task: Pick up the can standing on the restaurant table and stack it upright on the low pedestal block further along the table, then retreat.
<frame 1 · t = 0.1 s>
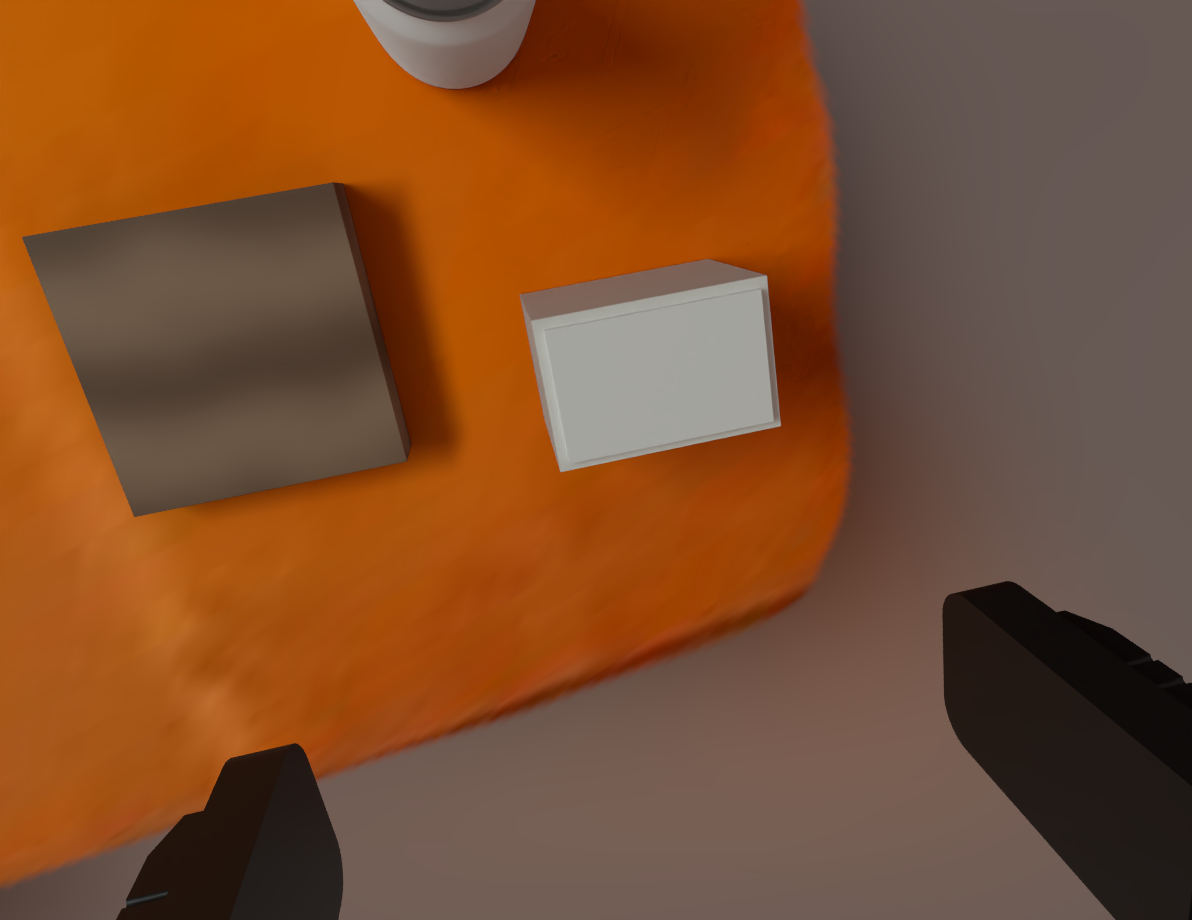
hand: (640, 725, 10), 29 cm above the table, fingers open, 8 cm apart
white box: (624, 339, 38), on the table
can: (449, 5, 33), on the table
base: (245, 346, 35), on the table
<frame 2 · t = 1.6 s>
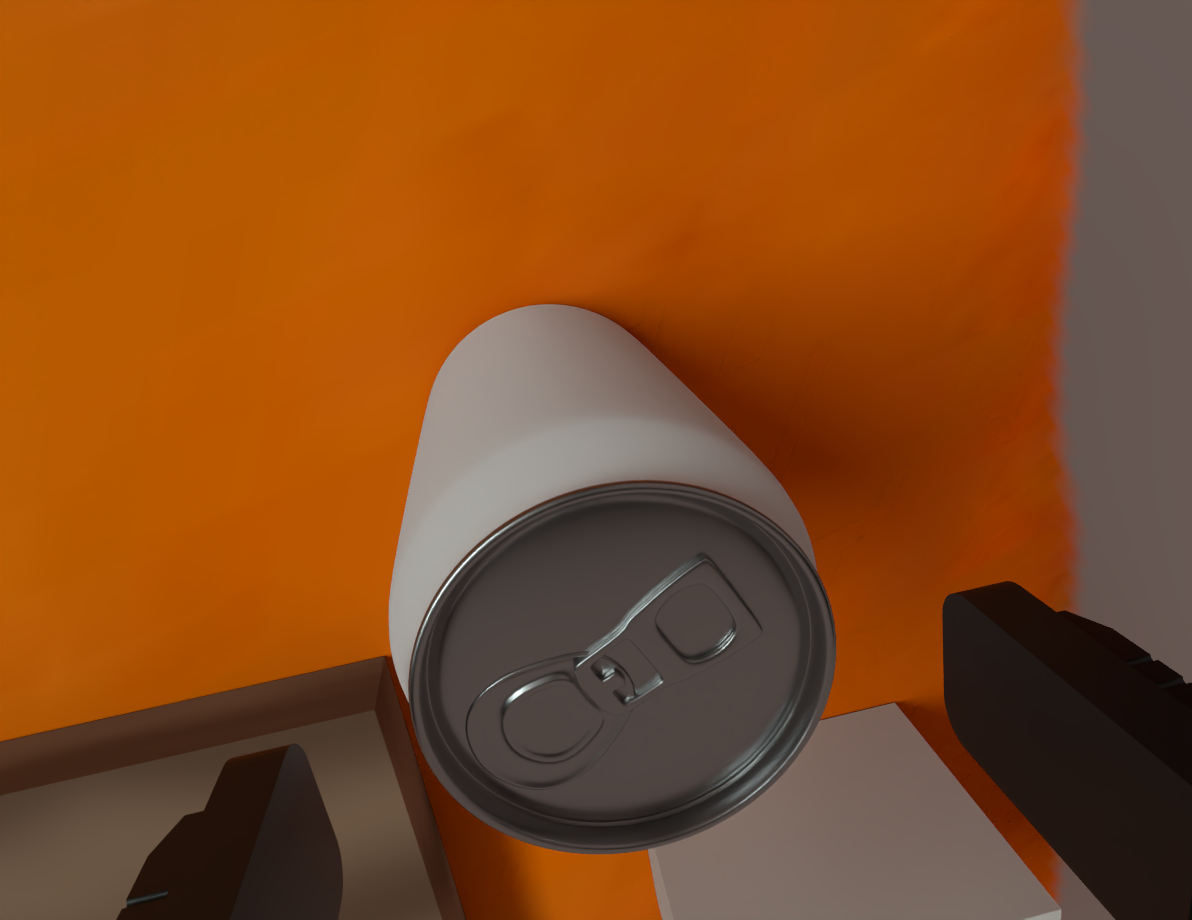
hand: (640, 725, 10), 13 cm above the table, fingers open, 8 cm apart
white box: (773, 803, 27), on the table
can: (547, 419, 22), on the table
base: (242, 859, 25), on the table
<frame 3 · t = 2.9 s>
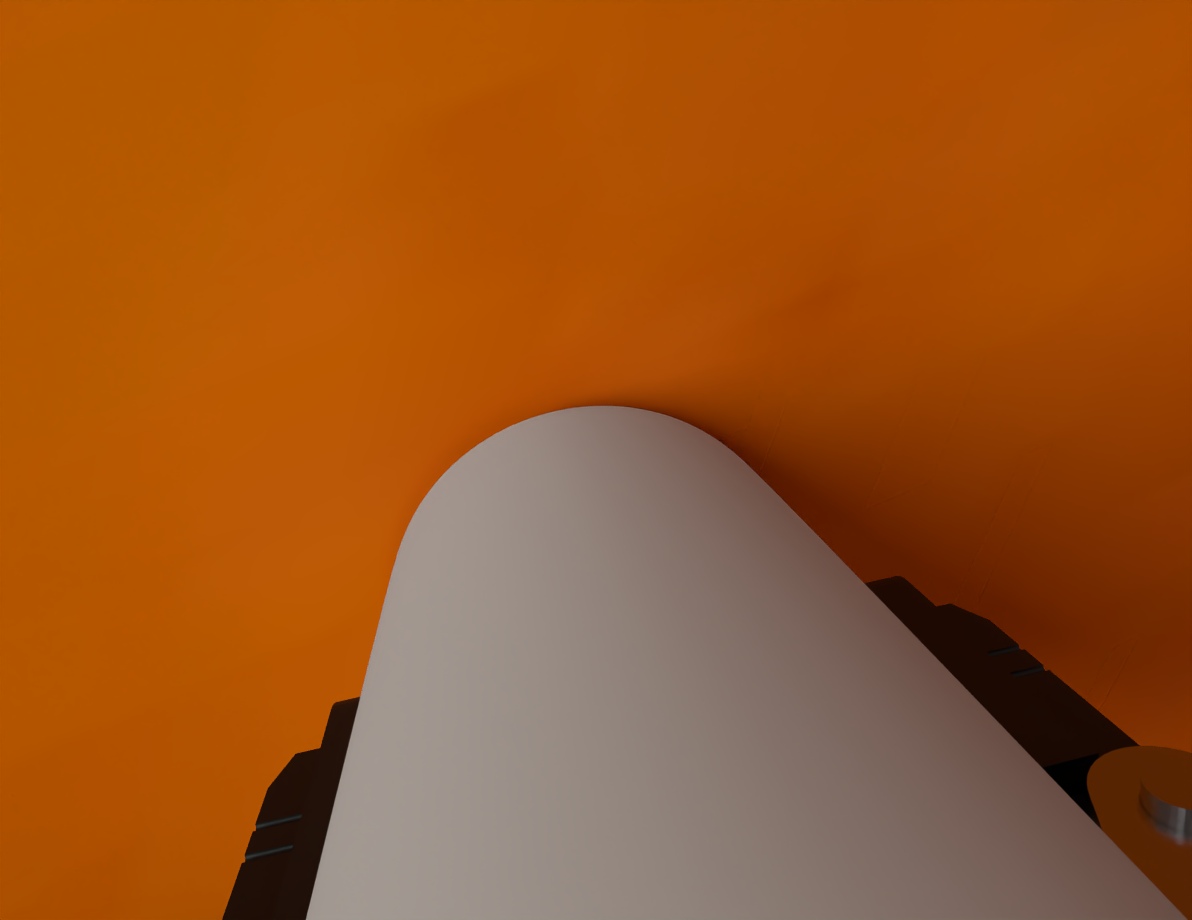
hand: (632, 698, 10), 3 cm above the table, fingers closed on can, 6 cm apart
can: (591, 580, 13), on the table, touching gripper
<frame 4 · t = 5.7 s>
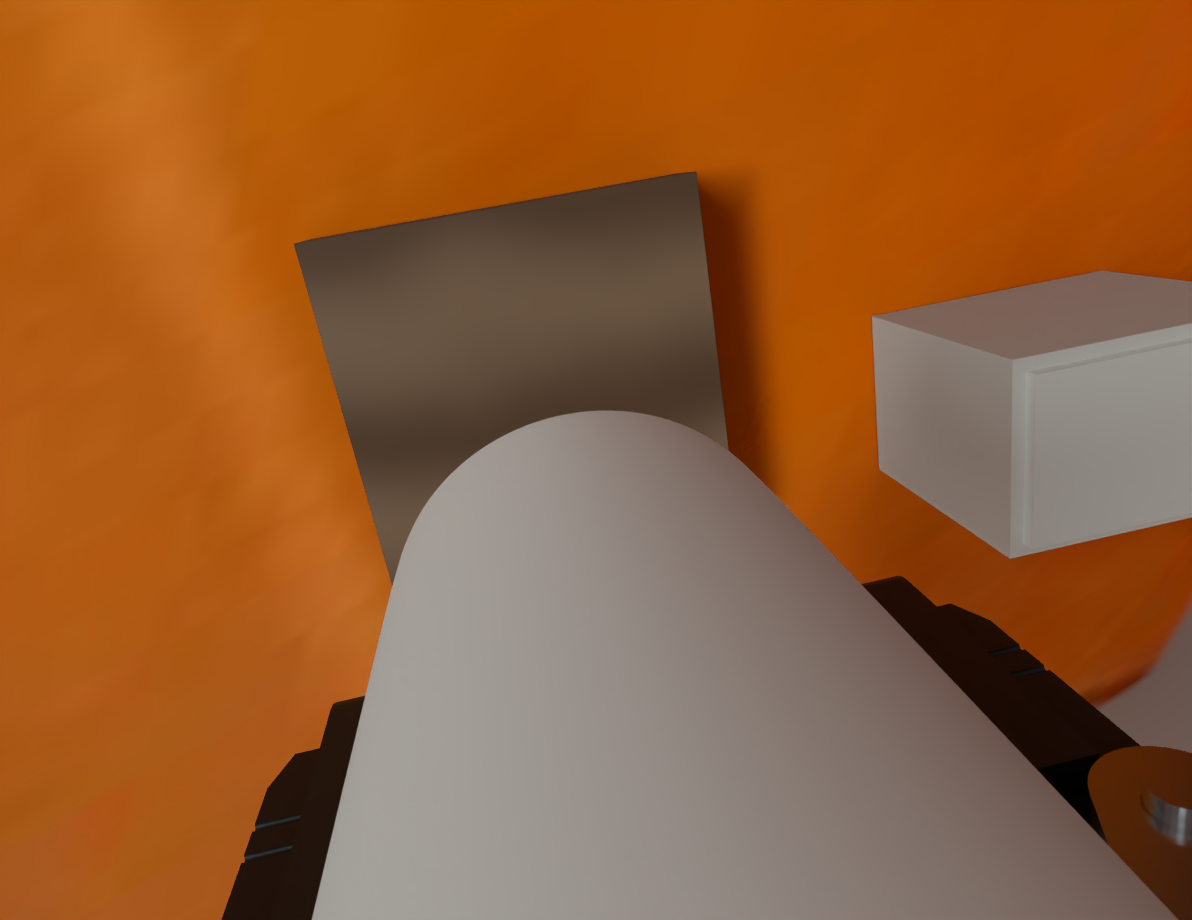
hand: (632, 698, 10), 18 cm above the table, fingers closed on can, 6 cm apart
white box: (988, 372, 30), on the table
can: (593, 584, 13), point 15 cm above the table, touching gripper
base: (532, 383, 28), on the table
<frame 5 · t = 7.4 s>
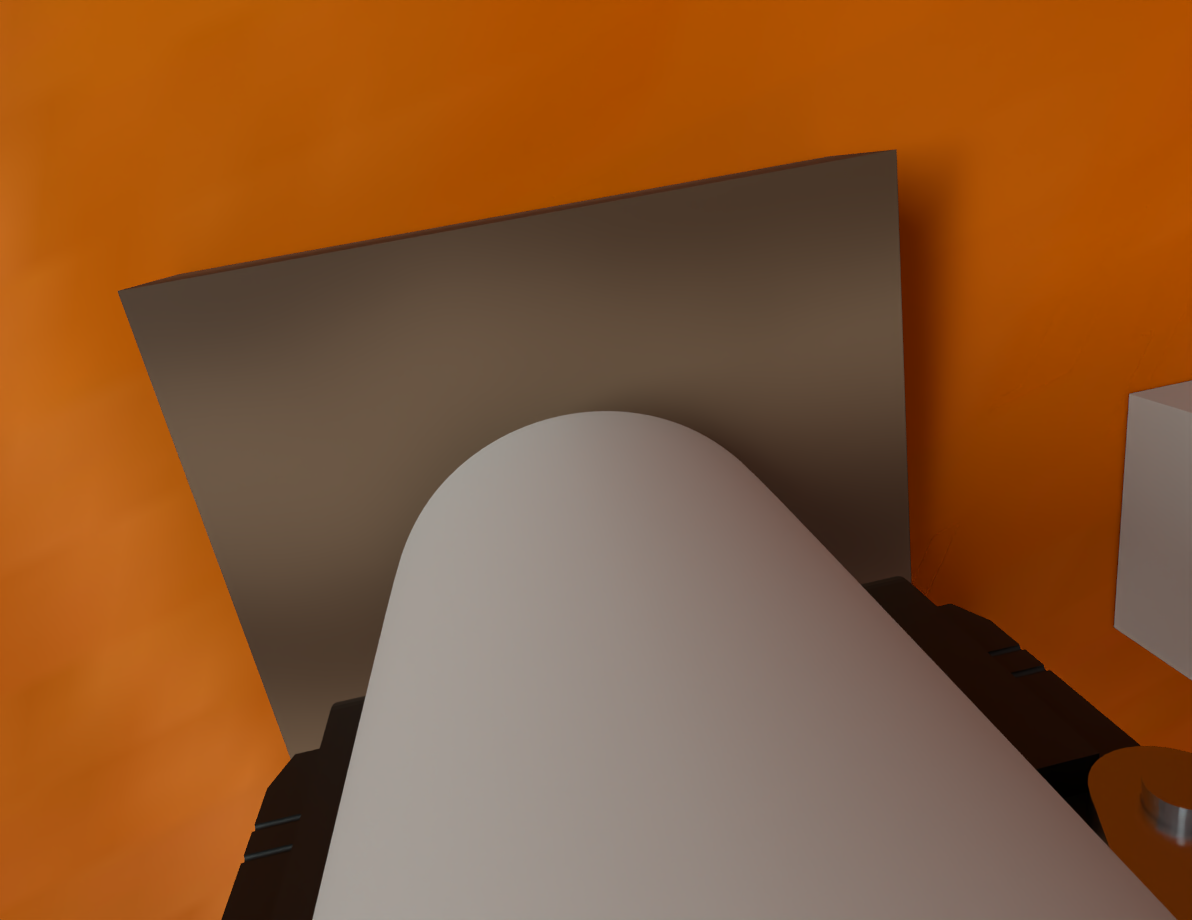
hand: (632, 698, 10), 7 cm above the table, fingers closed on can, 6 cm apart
can: (593, 584, 13), point 3 cm above the table, touching gripper
base: (572, 512, 16), on the table
when the fingers open (6 cm above the table, at t = 8.6 s): can stays where it is, resting on base.
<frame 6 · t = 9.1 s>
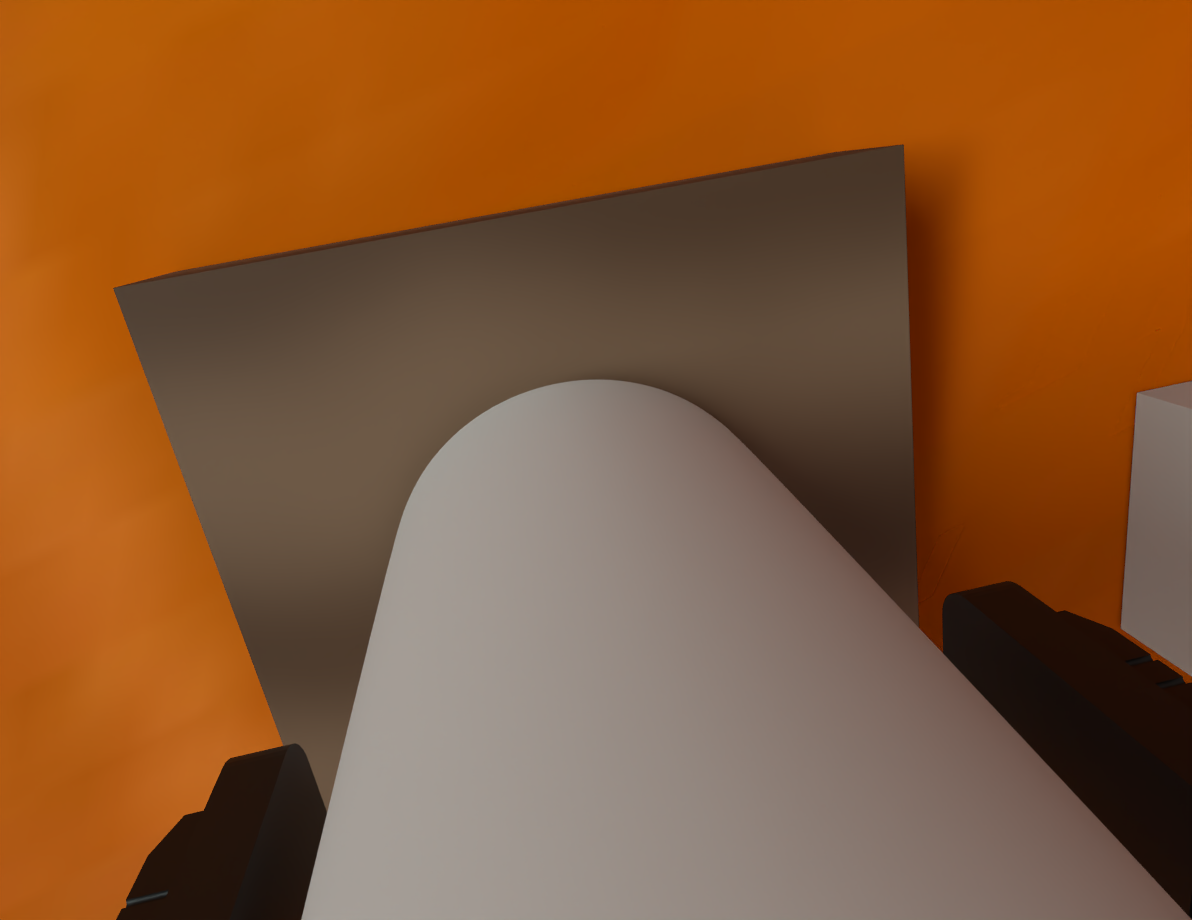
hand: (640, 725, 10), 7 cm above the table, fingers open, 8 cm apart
can: (586, 548, 14), point 2 cm above the table, touching base
base: (574, 512, 16), on the table
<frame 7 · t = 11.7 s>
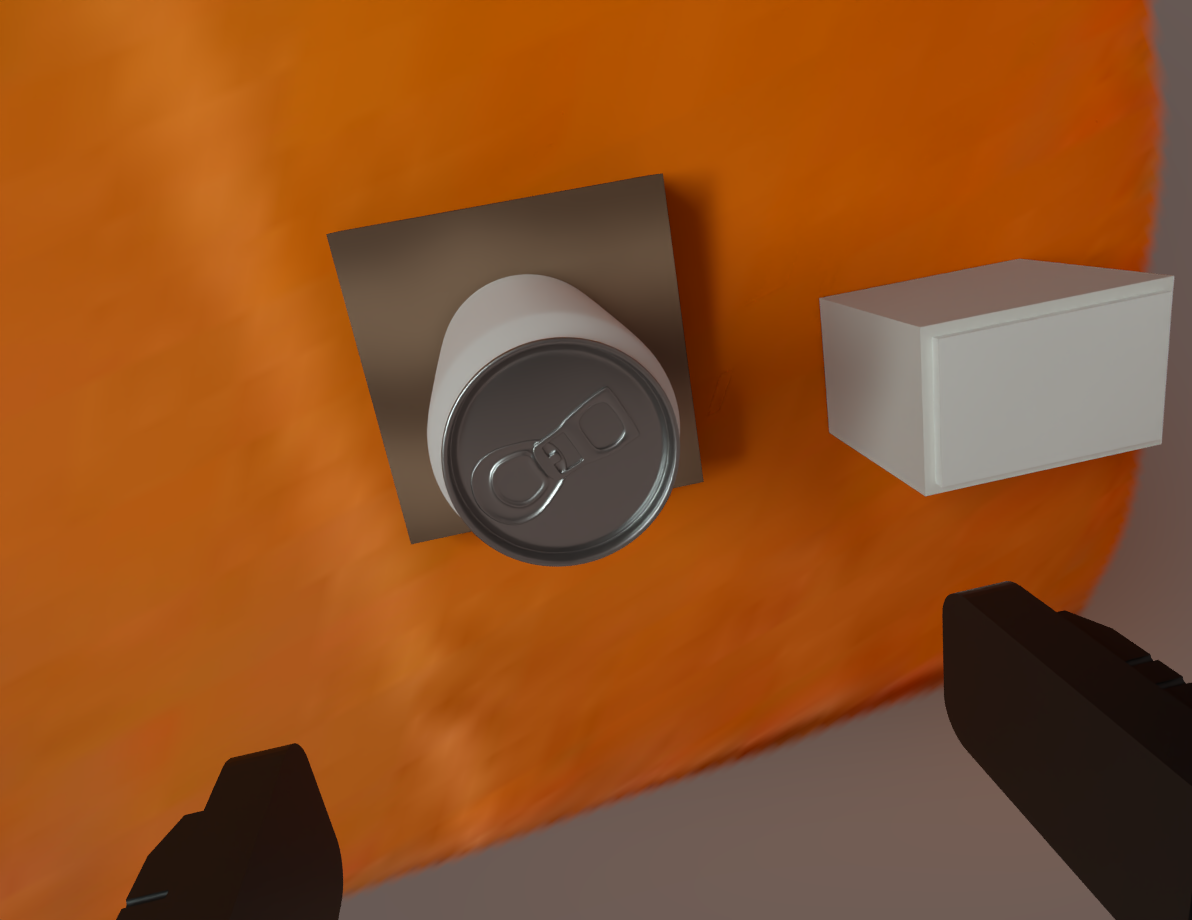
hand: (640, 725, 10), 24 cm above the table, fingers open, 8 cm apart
white box: (922, 347, 35), on the table
can: (528, 359, 30), point 2 cm above the table, touching base
base: (526, 355, 32), on the table
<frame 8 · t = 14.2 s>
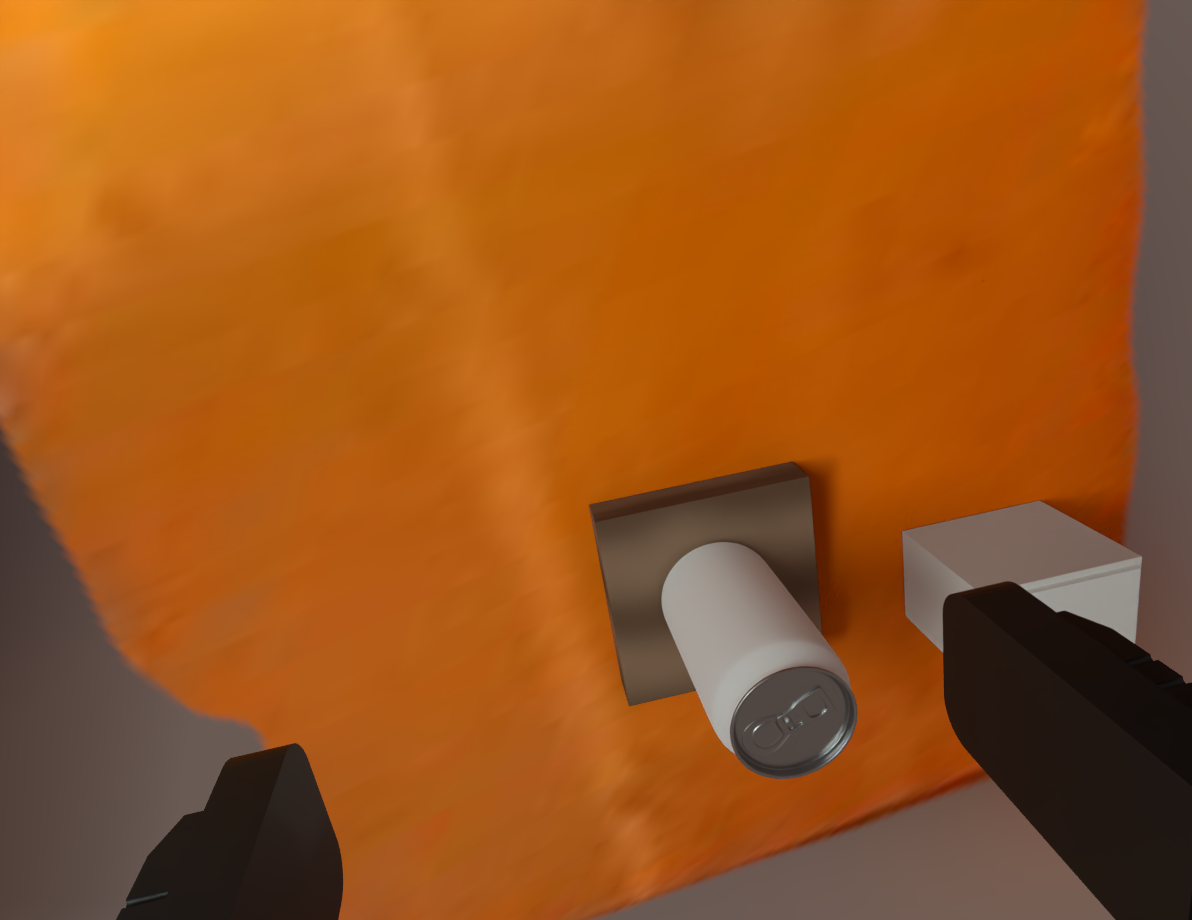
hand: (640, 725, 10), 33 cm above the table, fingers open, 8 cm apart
white box: (971, 558, 50), on the table
can: (714, 588, 45), point 2 cm above the table, touching base
base: (704, 575, 47), on the table
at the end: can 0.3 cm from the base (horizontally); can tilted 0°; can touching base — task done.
